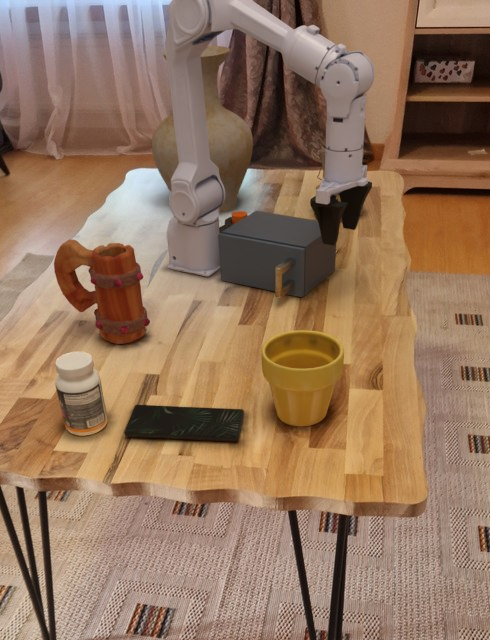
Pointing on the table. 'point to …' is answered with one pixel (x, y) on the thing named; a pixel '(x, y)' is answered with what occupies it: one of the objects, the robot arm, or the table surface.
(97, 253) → the mug
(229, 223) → the control block
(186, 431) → the smartphone
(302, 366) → the flower pot
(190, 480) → the table surface
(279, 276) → the grey piece
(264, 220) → the grey cabinet
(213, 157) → the vase
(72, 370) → the pill bottle
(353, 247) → the table surface
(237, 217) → the release button
